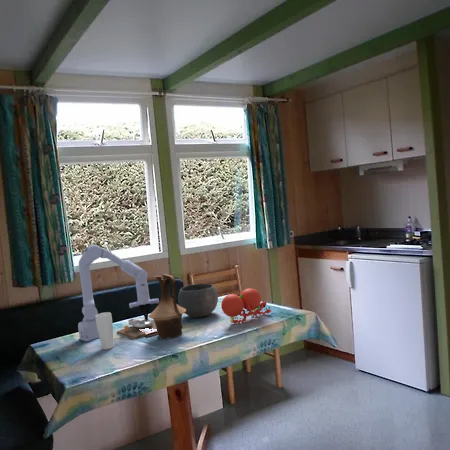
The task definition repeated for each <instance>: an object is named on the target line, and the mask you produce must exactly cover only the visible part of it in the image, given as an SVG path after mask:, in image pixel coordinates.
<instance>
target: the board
mask: <svg viewBox="0 0 450 450" xmlns="http://www.w3.org/2000/svg"><path fill="white" fill-rule="evenodd" d="M151 320H152V321H153V325H152V326H150V327H147V328H149V329H152V328H153V329H157V328H156V324H155V322H154V319H151ZM128 329H129V332H128V333H125V328H122V329H119V330H116V334H117V335H121V336H123V337H126V338H129V339H130V338H131V339H133V340H138V339H141V338H143V337H146V336H145V332H142V331H140V330H139V329H137V328H134V326H133V325H130V326H128ZM140 329H145V328H140ZM151 331H152V330H151Z"/></svg>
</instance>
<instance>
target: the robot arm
mask: <svg viewBox="0 0 450 450" xmlns="http://www.w3.org/2000/svg"><path fill="white" fill-rule="evenodd" d="M99 258H101V259H108V260H109V261H111V262H113V263H114V264H116V265H118V266H120V271H123V272H124V273H126V274H128V275H129V276H131V277H133V278H134V279H135V289H136V295H137V296H136V297H137V301H133V302H130V303H129V304H128V305H129V308H130V309H133V308H137V307H138V308H139V310H140V311H141V312H142V314H143V317H144V320H149V314H150V308H151V305H153V304H159V303H160V300H159V297H158V298H152V299H151V298H150V294H149V292H150V291H149V285H148V279H147V278H148V275H149V274H148V272H147V271H146V270H145V269H143V268H142V267H141V266H140V265H137V264H135V263H134V261H133V260H131V259H130V260H129V259H125V260H123V259H122V258H120V257H119V256H117V255H116V254H114V253H113V252H112V251H110V250H108V249H106V248H103V247H101V246H99V245H96V244H90V245H88V246H87V247H86V248H85V249H84V250H83V253H82V255H81V257H80V259H79V260H78V269H79V270H78V271H79V277H80V286H81V292H82V304H83V306H82V308H81V313H82V314H83V316H84V317H83V318H82V321H80V322H78V325H77V329H78V335H79V337H78V338H79V340H81V341H84V342H89V341H93V340H96V339H98V338H99V334H98V329H97V325H96V317H95V316H96V315H97V314H99V311H98V309H97V308H96V304H95V300H94V294H93V285H92V284H93V283H92V278H91V270H90V268H91V267H90V266H91V265H92V264H93V262H95V261H96V260H97V259H99ZM99 339H100V338H99Z"/></svg>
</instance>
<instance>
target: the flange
mask: <svg viewBox="0 0 450 450" xmlns="http://www.w3.org/2000/svg"><path fill="white" fill-rule="evenodd" d="M152 320H153V319H148V320H145V319H142V320H140V319H134V318H131V319H128V326H134V328H137V329H140V328H147V327H150V326H152V325H153V321H152Z"/></svg>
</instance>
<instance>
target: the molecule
mask: <svg viewBox="0 0 450 450" xmlns="http://www.w3.org/2000/svg"><path fill="white" fill-rule="evenodd" d="M220 306H221V310H222V312H223V313H224V315H225V316H227V317H229V322H230V323H231V324H232V323H233V324H238V325H240V323H242V324H244V323H245V322H246V321H247V317H251V319H252V318H253V319H254V318H255V317H258V315H260V316H261V315H263V316H265V315H266V314H270V313H271V312H272V310H271V308H270V306H268V308H267V307H266V306H267V301H265V300H262V296H261V293H260V292H259V291H257V289H255V288H249V287H248V288H245V289H244V290H242V291H241V293H240V294H239V295H238V294H235V293H231V294H227V295H226V296H224V298H222V301H221V305H220ZM238 316H239V317H238ZM240 317H242V318H240Z"/></svg>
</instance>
